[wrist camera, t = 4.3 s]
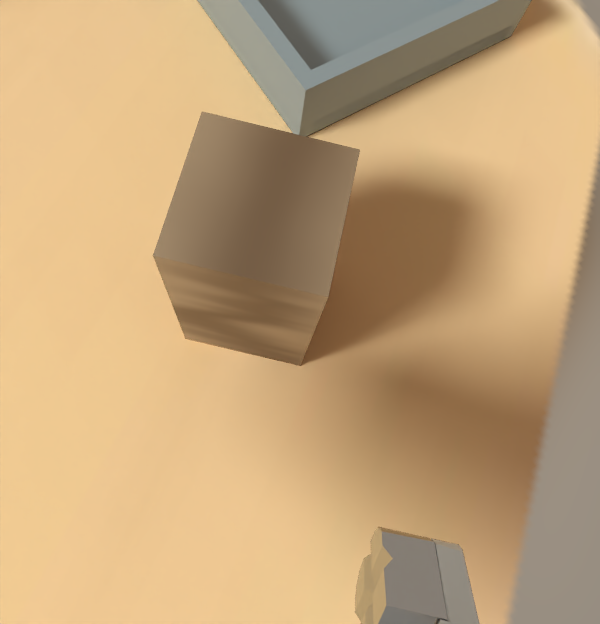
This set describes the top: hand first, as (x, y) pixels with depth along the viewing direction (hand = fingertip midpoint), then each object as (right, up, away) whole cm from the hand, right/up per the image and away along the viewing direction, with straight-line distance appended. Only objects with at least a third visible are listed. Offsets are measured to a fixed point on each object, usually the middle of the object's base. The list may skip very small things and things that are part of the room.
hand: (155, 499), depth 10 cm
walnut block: (+1, +4, +14) cm, 15 cm away
